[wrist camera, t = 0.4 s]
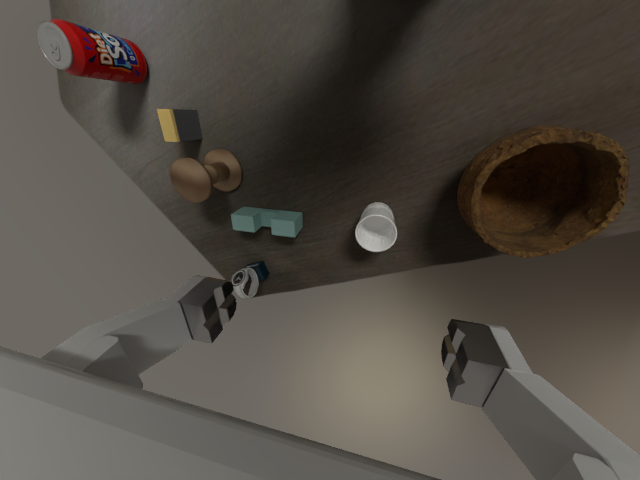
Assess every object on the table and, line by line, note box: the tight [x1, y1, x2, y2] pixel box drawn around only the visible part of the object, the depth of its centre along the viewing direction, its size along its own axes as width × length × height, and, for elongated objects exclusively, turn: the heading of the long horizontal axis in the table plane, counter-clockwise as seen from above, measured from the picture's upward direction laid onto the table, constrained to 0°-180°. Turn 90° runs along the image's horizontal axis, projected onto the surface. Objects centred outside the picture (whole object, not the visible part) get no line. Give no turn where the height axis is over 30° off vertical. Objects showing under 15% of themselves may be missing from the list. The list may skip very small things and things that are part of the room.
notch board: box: [231, 207, 303, 237], centre depth 59 cm, size 4×16×6 cm, turn 89°
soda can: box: [37, 19, 147, 84], centre depth 47 cm, size 8×8×15 cm
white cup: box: [355, 202, 397, 252], centre depth 51 cm, size 8×8×10 cm
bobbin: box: [170, 149, 243, 203], centre depth 54 cm, size 10×10×12 cm
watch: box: [231, 261, 269, 299], centre depth 66 cm, size 6×8×11 cm
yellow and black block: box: [157, 109, 202, 142], centre depth 53 cm, size 6×3×8 cm, turn 179°
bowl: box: [457, 126, 629, 257], centre depth 39 cm, size 19×19×15 cm
